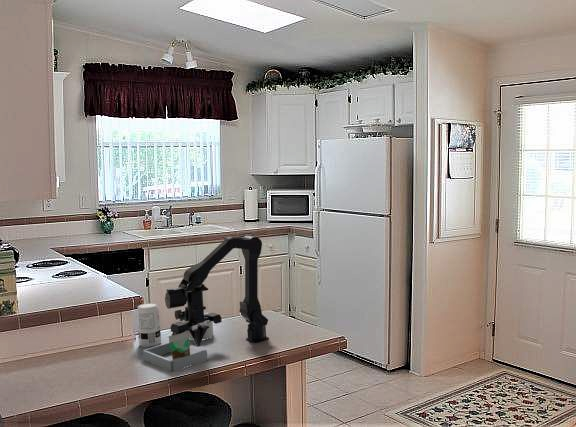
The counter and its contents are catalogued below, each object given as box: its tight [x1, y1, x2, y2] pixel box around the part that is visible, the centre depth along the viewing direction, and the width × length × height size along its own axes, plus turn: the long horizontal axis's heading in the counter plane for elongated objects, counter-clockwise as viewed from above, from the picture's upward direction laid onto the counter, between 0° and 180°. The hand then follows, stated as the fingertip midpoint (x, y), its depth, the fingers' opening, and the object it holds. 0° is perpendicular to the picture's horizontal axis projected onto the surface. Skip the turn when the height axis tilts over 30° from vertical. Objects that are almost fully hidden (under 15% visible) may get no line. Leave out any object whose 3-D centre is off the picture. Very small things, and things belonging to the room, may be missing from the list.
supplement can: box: [136, 302, 162, 348], centre depth 227 cm, size 8×8×15 cm
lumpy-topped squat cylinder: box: [183, 312, 214, 340], centre depth 235 cm, size 10×13×9 cm
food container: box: [168, 330, 191, 361], centre depth 209 cm, size 12×6×10 cm, turn 179°
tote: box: [141, 341, 208, 373], centre depth 208 cm, size 14×19×4 cm
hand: (198, 346), depth 215 cm, fingers closed
